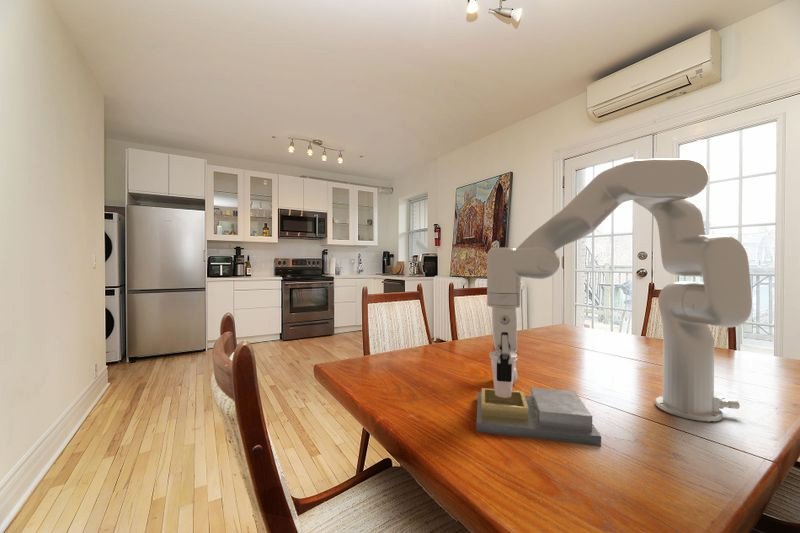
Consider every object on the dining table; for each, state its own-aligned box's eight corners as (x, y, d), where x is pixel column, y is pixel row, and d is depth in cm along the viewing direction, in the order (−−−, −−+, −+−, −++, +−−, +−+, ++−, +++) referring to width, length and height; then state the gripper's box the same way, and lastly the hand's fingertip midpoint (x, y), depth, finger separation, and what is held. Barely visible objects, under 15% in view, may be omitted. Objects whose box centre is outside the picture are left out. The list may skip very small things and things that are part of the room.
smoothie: (520, 393, 80) (520, 334, 80) (513, 402, 75) (513, 339, 75) (493, 387, 84) (493, 331, 84) (485, 396, 79) (485, 336, 78)
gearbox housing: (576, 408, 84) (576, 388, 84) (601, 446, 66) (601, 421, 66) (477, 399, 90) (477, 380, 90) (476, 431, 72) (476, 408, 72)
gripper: (524, 304, 70) (524, 391, 70) (516, 296, 87) (516, 366, 87) (487, 303, 72) (487, 387, 72) (486, 296, 89) (486, 364, 89)
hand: (503, 375), depth 79 cm, fingers closed on smoothie, 6 cm apart
